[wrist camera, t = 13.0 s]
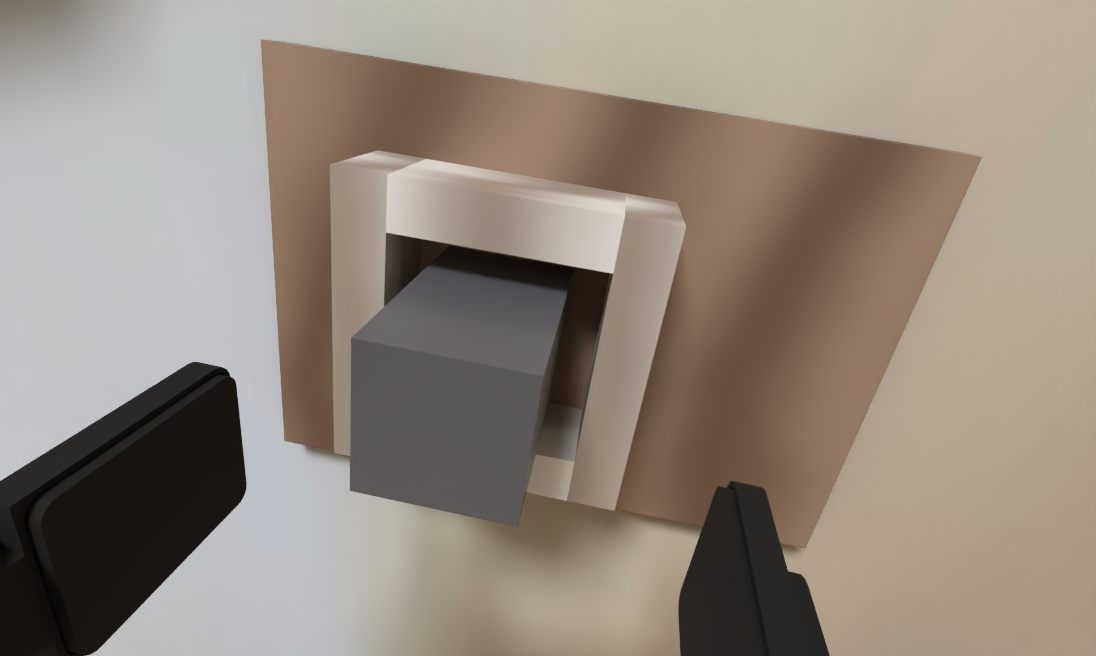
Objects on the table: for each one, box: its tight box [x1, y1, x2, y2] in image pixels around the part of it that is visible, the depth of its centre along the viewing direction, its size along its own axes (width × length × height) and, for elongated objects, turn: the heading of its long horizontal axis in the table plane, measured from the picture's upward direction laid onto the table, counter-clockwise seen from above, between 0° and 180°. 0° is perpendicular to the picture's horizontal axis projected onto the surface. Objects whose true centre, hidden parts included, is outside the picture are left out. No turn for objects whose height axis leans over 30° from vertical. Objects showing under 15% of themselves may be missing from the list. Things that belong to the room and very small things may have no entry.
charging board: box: [261, 40, 982, 548], centre depth 18 cm, size 20×14×4 cm
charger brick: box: [350, 246, 574, 527], centre depth 15 cm, size 4×4×7 cm
